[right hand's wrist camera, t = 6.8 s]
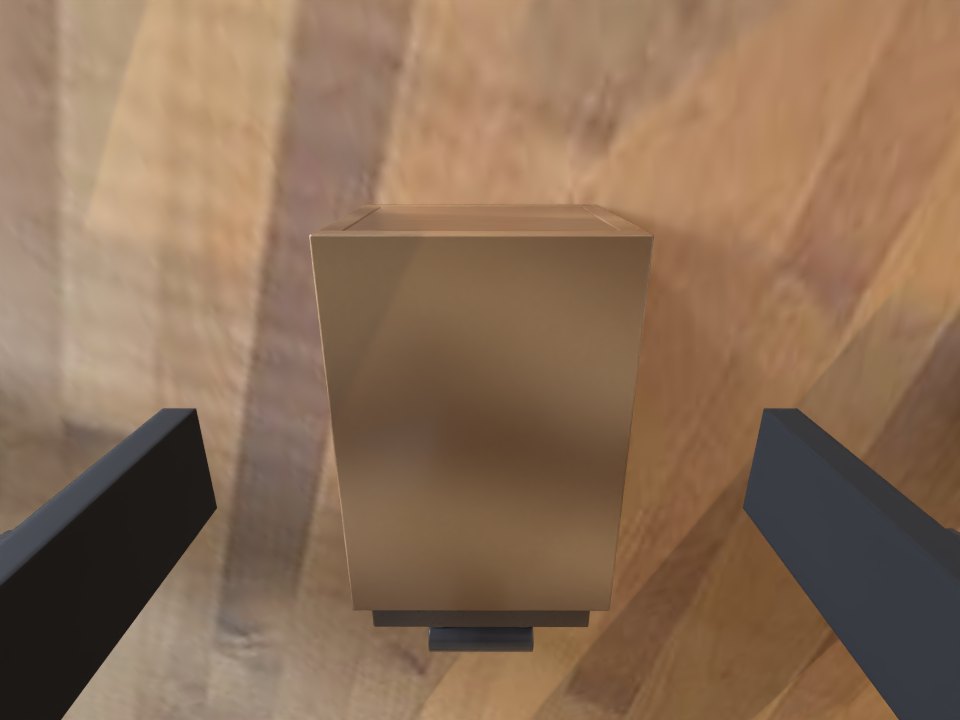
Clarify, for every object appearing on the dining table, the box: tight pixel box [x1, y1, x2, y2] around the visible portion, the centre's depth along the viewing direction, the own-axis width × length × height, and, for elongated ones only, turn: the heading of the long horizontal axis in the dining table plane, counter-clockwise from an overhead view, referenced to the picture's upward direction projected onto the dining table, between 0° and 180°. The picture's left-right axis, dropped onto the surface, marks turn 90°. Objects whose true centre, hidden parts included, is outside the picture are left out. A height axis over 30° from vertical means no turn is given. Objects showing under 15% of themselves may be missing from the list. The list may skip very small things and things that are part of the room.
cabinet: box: [309, 205, 654, 611], centre depth 25 cm, size 16×11×9 cm
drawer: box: [372, 610, 590, 652], centre depth 27 cm, size 20×10×7 cm, turn 0°
